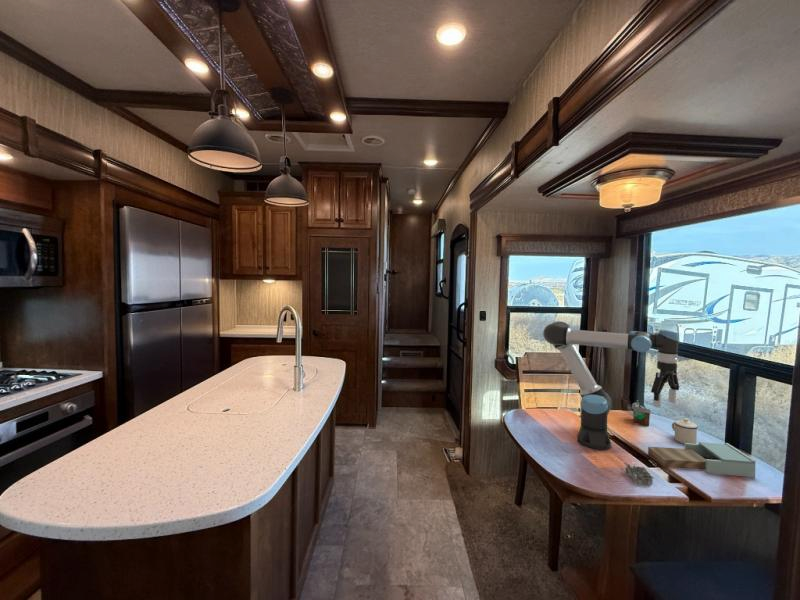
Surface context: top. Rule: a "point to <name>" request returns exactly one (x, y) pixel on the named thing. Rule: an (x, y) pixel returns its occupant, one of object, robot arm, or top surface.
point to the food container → (641, 414)
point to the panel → (677, 458)
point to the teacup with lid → (685, 431)
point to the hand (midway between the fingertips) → (664, 404)
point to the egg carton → (639, 475)
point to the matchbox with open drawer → (724, 459)
